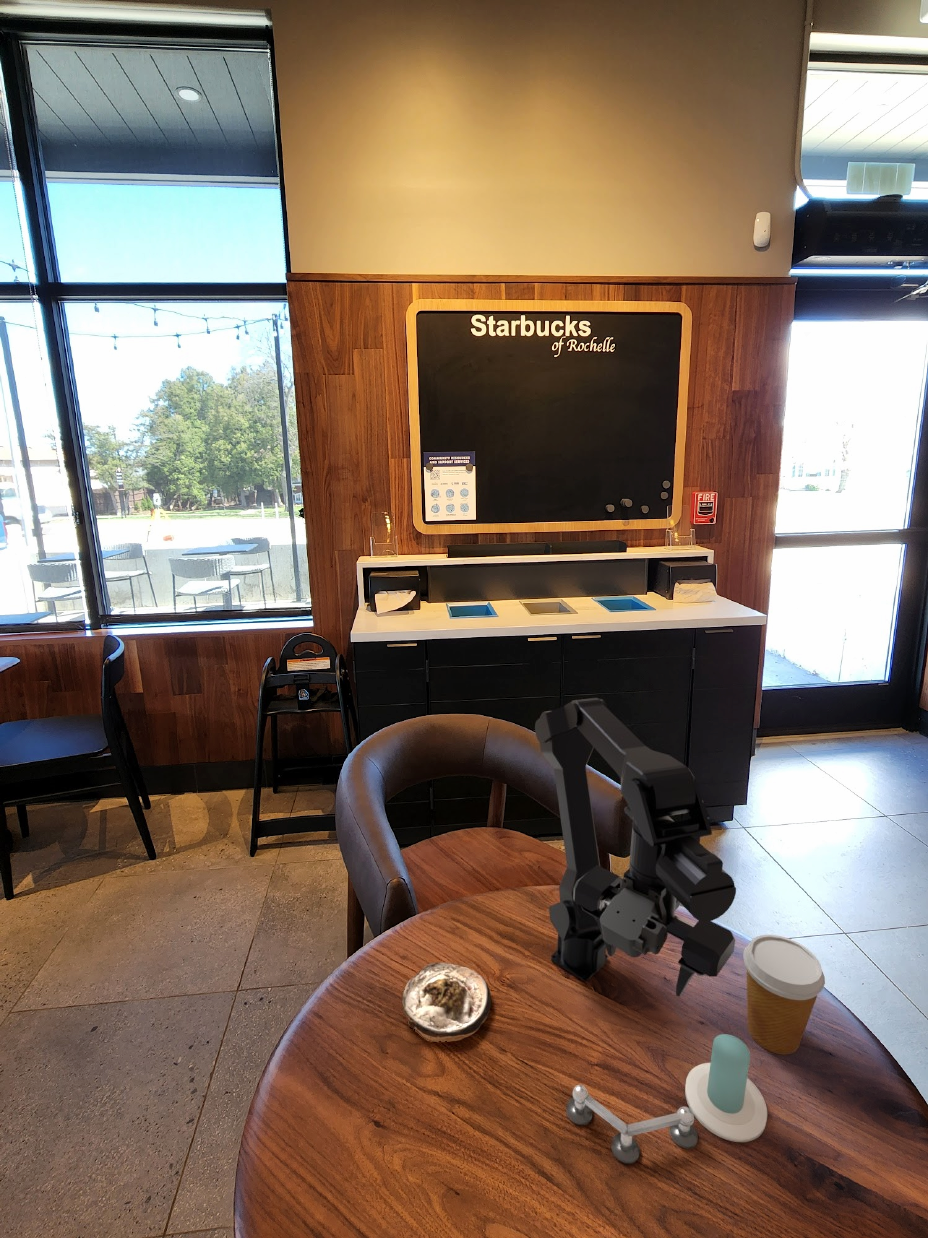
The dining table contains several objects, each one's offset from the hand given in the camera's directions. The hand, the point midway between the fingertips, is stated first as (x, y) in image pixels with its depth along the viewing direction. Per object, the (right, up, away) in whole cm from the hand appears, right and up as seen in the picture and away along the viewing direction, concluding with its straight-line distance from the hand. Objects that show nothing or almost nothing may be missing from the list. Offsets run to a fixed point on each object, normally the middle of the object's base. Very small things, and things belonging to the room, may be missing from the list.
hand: (644, 973), depth 79 cm
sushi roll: (-25, -11, +10) cm, 29 cm away
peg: (+9, -12, -4) cm, 16 cm away
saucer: (+9, -13, -4) cm, 16 cm away
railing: (-3, -14, -6) cm, 16 cm away
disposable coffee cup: (+19, -11, +6) cm, 23 cm away
